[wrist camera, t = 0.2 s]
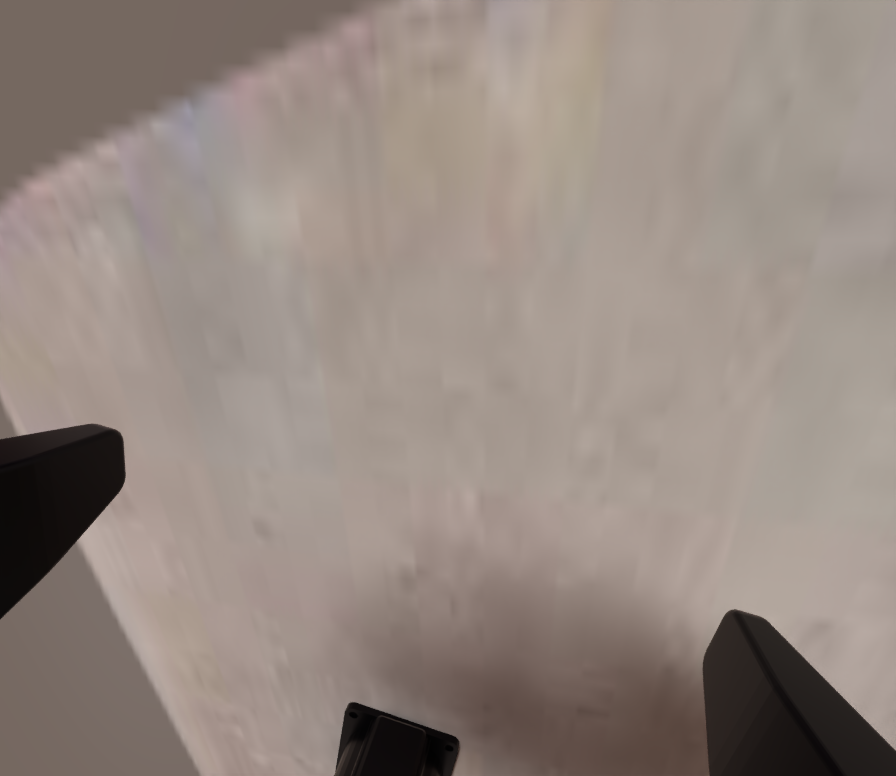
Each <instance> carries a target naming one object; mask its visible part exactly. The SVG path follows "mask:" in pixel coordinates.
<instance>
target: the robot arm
mask: <svg viewBox="0 0 896 776" xmlns="http://www.w3.org/2000/svg"><path fill="white" fill-rule="evenodd" d="M125 477H126V472H125V457H124V441H123V437H122V435H121V433H120V432H119V431H117V430H116V429H112V428H109V427H105V426H102V425H98V424H86V425H80V426H74V427H69V428H63V429H57V430H51V431H45V432H40V433H34V434H28V435H22V436H16V437H11V438H5V439H0V619H1V618H2V617H3V616H4V615H5V614H6V613H7V612H9V611H10V610H11V608H13V607H14V606H15V605H16V604H17V603H18V602H19V601H20V600H21V599H22V598H23V597H24V596H25V595H26V594H27V593H28V592H29V591H30V590H31V589H32V588H34V587H35V586H36V584H38V583H39V582H40V581H41V579H43V578H44V576H46V575H47V574H48V573H49V572H50V570H51V569H52V568H53V567H54V566H55V565H56V564H57V563H58V562H59V561H60V560H61V558H62V557H63V556H64V555H65V554H66V553H67V552H68V550H69V549H70V548H71V547H72V546H73V545H74V544H75V542H76V541H77V540H78V539H79V538H80V537H81V536H82V534H83V533H84V532H85V531H86V530H87V529H88V528H89V526H90V525H91V524H92V523H93V522H94V521H95V520H96V518H97V517H98V516H99V515H100V514H101V513H102V511H103V510H104V509H105V508H106V507H107V506H108V505H109V503H110V502H111V501H112V500H113V499H114V498H115V497H116V495H117V494H118V493H119V492H120V490H121V489H122V487H123V484H124V482H125ZM703 683H704V699H705V714H706V730H707V745H708V761H709V774H710V776H896V751H895V750H894V749H893V748H892V747H891V746H890V745H889V744H888V743H887V741H886V740H885V739H884V738H883V737H882V736H881V735H880V734H879V733H878V732H877V731H876V730H875V729H874V728H873V727H872V726H871V725H870V724H869V723H868V722H867V721H866V720H865V719H864V718H863V717H862V716H861V715H860V714H859V713H858V712H857V711H856V710H855V709H854V708H853V707H852V706H851V705H850V704H849V703H848V702H847V701H846V700H845V699H844V698H843V697H842V696H841V695H840V694H839V693H838V692H837V691H836V690H835V689H834V688H833V687H832V686H831V685H830V684H829V683H828V682H827V681H826V680H825V679H824V678H823V677H822V676H821V675H820V674H819V673H818V672H817V671H816V670H815V669H814V668H813V667H812V666H811V665H810V664H809V663H808V662H807V661H806V660H805V659H804V658H803V656H802V655H801V654H800V653H799V652H798V651H797V650H796V649H795V648H794V647H793V646H792V645H791V644H790V643H789V642H788V641H787V640H786V639H785V638H784V637H783V636H782V635H781V634H780V633H779V632H778V631H777V630H776V629H775V628H774V627H773V626H772V625H771V624H770V623H769V622H768V621H767V620H766V619H764V618H762V617H760V616H757V615H753V614H750V613H746V612H743V611H740V610H736V609H734V610H730V611H728V612H727V613H726V614H725V616H724V617H723V619H722V621H721V623H720V625H719V627H718V629H717V631H716V633H715V635H714V637H713V638H712V640H711V642H710V644H709V646H708V648H707V650H706V653H705V656H704V660H703ZM458 749H459V740H458V739H457V738H456V737H454V736H452V735H449V734H446V733H443V732H440V731H437V730H434V729H432V728H429V727H426V726H423V725H420V724H417V723H414V722H411V721H408V720H405V719H402V718H399V717H396V716H393V715H391V714H388V713H385V712H382V711H379V710H376V709H373V708H370V707H367V706H364V705H361V704H358V703H354V702H352V703H349V704H348V706H347V708H346V711H345V715H344V721H343V727H342V734H341V740H340V746H339V752H338V759H337V765H336V771H335V775H334V776H451V773H452V770H453V766H454V763H455V760H456V756H457V753H458Z"/></svg>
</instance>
